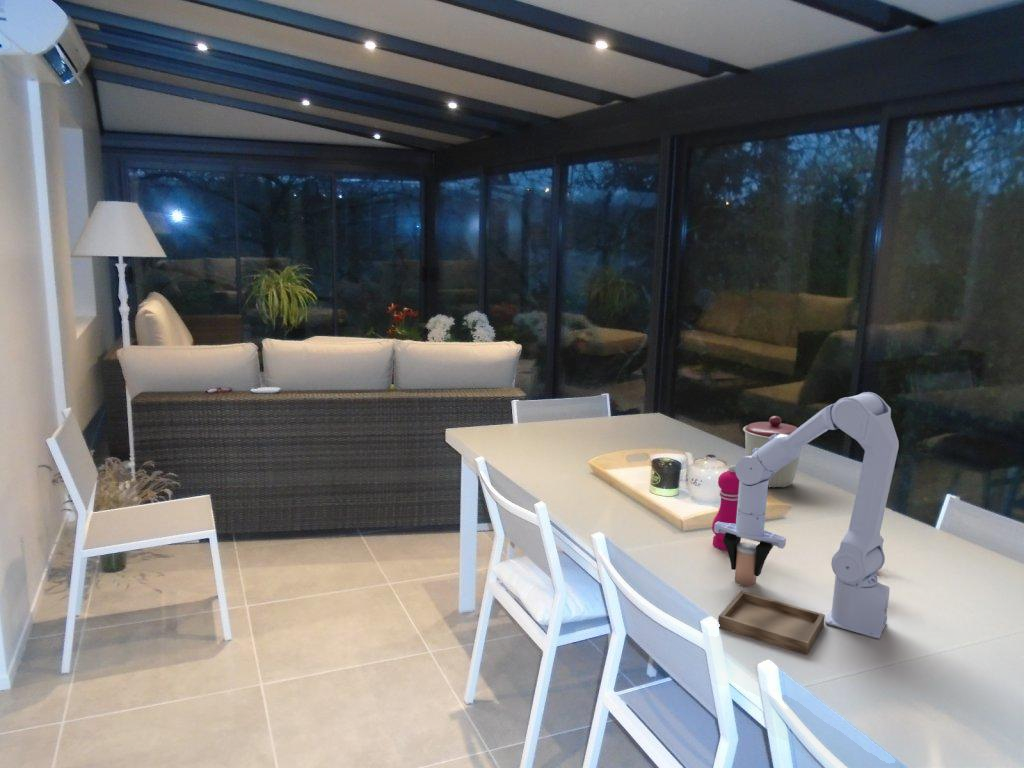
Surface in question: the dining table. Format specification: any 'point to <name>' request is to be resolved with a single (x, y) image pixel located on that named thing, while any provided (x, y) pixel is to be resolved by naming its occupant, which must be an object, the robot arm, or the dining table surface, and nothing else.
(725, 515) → the pepper mill
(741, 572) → the terracotta shaker
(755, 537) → the robot arm
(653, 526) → the dining table surface
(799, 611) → the walnut tray
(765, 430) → the canister
